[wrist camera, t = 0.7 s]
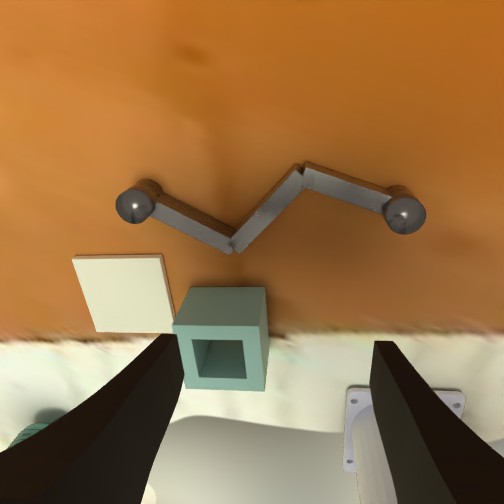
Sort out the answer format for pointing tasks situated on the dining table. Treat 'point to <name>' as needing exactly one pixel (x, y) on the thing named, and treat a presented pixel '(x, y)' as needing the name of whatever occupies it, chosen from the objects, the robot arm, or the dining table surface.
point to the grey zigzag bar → (271, 206)
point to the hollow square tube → (223, 338)
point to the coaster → (126, 292)
